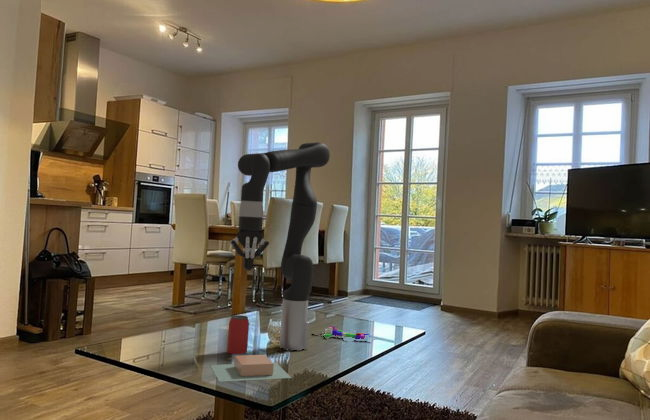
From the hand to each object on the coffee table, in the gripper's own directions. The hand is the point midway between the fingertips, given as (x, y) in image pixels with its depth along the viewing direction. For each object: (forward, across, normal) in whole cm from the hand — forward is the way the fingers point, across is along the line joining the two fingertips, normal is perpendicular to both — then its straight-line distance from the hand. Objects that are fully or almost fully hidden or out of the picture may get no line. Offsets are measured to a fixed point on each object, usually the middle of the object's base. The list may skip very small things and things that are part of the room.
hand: (247, 269), depth 150 cm
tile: (+26, -3, +16) cm, 30 cm away
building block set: (+31, -51, -26) cm, 65 cm away
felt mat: (+28, +2, +16) cm, 32 cm away
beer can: (+29, 0, -7) cm, 29 cm away
